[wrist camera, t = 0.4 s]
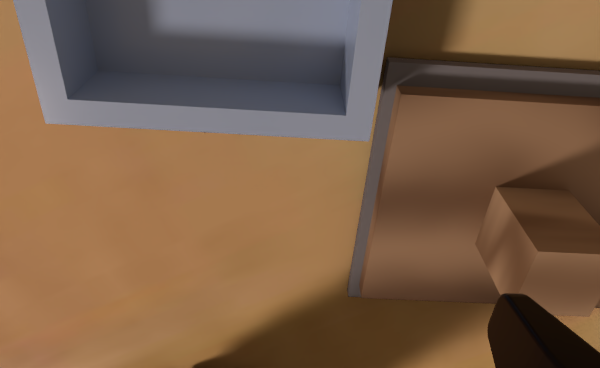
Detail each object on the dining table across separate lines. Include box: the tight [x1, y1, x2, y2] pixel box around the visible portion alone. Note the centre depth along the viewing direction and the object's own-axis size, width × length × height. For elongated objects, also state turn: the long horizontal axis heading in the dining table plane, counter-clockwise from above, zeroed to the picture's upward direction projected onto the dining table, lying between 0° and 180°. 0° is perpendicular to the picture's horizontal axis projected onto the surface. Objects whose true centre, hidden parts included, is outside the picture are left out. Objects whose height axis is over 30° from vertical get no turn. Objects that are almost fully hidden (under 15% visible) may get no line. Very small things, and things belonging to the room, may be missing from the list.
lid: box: [359, 85, 600, 317], centre depth 21 cm, size 12×14×6 cm
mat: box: [347, 57, 600, 297], centre depth 24 cm, size 14×15×1 cm
